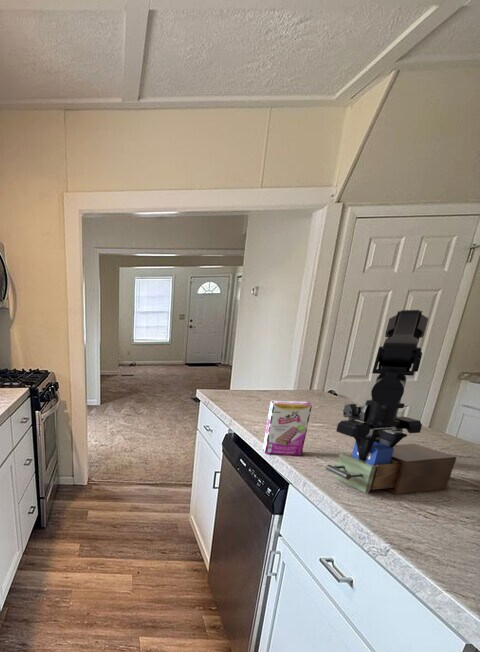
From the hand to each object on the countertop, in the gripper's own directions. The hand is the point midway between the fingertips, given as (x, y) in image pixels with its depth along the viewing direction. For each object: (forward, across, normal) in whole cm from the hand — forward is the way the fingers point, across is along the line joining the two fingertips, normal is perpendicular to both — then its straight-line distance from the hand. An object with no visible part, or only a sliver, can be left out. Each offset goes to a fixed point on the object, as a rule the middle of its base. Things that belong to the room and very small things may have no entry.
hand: (370, 460), depth 100 cm
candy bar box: (+8, +4, -29) cm, 30 cm away
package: (+1, 0, 0) cm, 1 cm away
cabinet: (+7, -11, 0) cm, 13 cm away
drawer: (+6, 0, 0) cm, 6 cm away
